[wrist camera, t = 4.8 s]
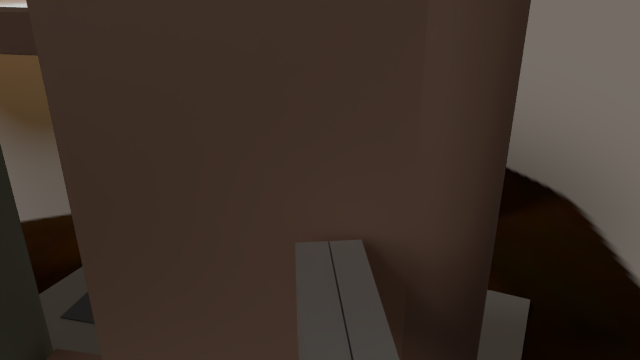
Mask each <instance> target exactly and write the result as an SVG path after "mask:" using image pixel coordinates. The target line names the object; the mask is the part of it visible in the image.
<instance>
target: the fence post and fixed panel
mask: <svg viewBox="0 0 640 360" xmlns="http://www.w3.org/2000/svg"><path fill="white" fill-rule="evenodd" d="M52 352H53V347H52V344H51V340H50V336H49V332H48V328H47V324H46V320H45V316H44V312H43V309H42V305H41V301H40V297H39V293H38V289H37V285H36V281H35V277H34V274H33V270H32V266H31V262H30V258H29V254H28V250H27V246H26V242H25V239H24V235H23V231H22V227H21V223H20V219H19V215H18V211H17V208H16V204H15V200H14V196H13V192H12V188H11V185H10V181H9V177H8V172H7V169H6V165H5V161H4V157H3V153H2V149H1V146H0V360H46V359H47V358H48V357H49V356H50V355H51V354H52Z"/></svg>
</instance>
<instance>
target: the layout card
mask: <svg viewBox="0 0 640 360" xmlns="http://www.w3.org/2000/svg"><path fill="white" fill-rule="evenodd" d="M39 297H40V301H41V305H42V309H43V312H44V316H45V320H46V324H47V328H48V332H49V336H50V340H51V344H52V347H53V351H54V350H55V349H62V350H69V351H76V352H83V353H90V354H97V355H101V351H100V346H99V341H98V336H97V332H96V327H95V322H94V318H93V313H92V308H91V303H90V299H89V294H88V289H87V284H86V280H85V275H84V270H83V266H82V267H81V268H79V269H78V270H76V271H75V272H73V273H72V274H70V275H68V276H67V277H65V278H64V279H62V280H61V281H59V282H58V283H56V284H55V285H53V286H52V287H50V288H48V289H47V290H45V291H44V292H42V293H41V294H39ZM529 305H530V300H529V299H525V298H521V297H516V296H512V295H508V294H504V293H499V292H495V291H491V290H487V296H486V302H485V309H484V316H483V322H482V329H481V336H480V342H479V349H478V356H477V360H521V357H522V350H523V344H524V337H525V331H526V324H527V318H528V311H529Z"/></svg>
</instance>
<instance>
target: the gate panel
mask: <svg viewBox="0 0 640 360" xmlns="http://www.w3.org/2000/svg"><path fill="white" fill-rule="evenodd" d="M26 1H27V6H28V8H16V7H0V54H11V55H37V56H38V58H39V63H40V67H41V71H42V76H43V82H44V86H45V91H46V96H47V100H48V105H49V110H50V115H51V119H52V124H53V129H54V133H55V138H56V142H57V148H58V152H59V157H60V161H61V166H62V171H63V176H64V180H65V185H66V189H67V195H68V199H69V204H70V209H71V214H72V218H73V223H74V228H75V233H76V237H77V242H78V247H79V251H80V256H81V261H82V266H83V270H84V275H85V280H86V284H87V289H88V294H89V299H90V303H91V308H92V313H93V318H94V322H95V327H96V332H97V336H98V341H99V346H100V351H101V355H97V354H90V353H83V352H76V351H69V350H62V349H55V350H54V351H53V352H52V354H51V355H50V356H49V357H48V358H47V359H46V360H299V351H298V337H297V299H296V259H295V243H298V242H319V241H328V245H329V241H340V240H360V239H362V243H363V246H364V249H365V252H366V255H367V258H368V262H369V265H370V268H371V271H372V274H373V278H374V281H375V284H376V287H377V290H378V293H379V297H380V300H381V303H382V306H383V309H384V312H385V316H386V319H387V322H388V325H389V328H390V331H391V335H392V338H393V341H394V344H395V347H396V350H397V354H398V357H399V360H477V356H478V349H479V342H480V336H481V329H482V322H483V316H484V309H485V302H486V296H487V289H488V282H489V276H490V269H491V262H492V256H493V249H494V242H495V236H496V229H497V222H498V216H499V209H500V202H501V196H502V189H503V182H504V176H505V169H506V162H507V156H508V149H509V142H510V136H511V129H512V121H513V115H514V109H515V102H516V96H517V89H518V82H519V76H520V69H521V62H522V56H523V49H524V42H525V36H526V29H527V22H528V16H529V9H530V3H531V0H26Z"/></svg>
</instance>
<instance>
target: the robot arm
mask: <svg viewBox="0 0 640 360" xmlns="http://www.w3.org/2000/svg"><path fill="white" fill-rule="evenodd" d="M295 259H296V299H297V337H298V351H299V360H399V357H398V354H397V350H396V347H395V344H394V341H393V338H392V335H391V331H390V328H389V325H388V322H387V319H386V316H385V312H384V309H383V306H382V303H381V300H380V297H379V293H378V290H377V287H376V284H375V281H374V278H373V274H372V271H371V268H370V265H369V262H368V258H367V255H366V252H365V249H364V246H363V243H362V239H360V240H340V241H329V245H328V241H319V242H298V243H295Z"/></svg>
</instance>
